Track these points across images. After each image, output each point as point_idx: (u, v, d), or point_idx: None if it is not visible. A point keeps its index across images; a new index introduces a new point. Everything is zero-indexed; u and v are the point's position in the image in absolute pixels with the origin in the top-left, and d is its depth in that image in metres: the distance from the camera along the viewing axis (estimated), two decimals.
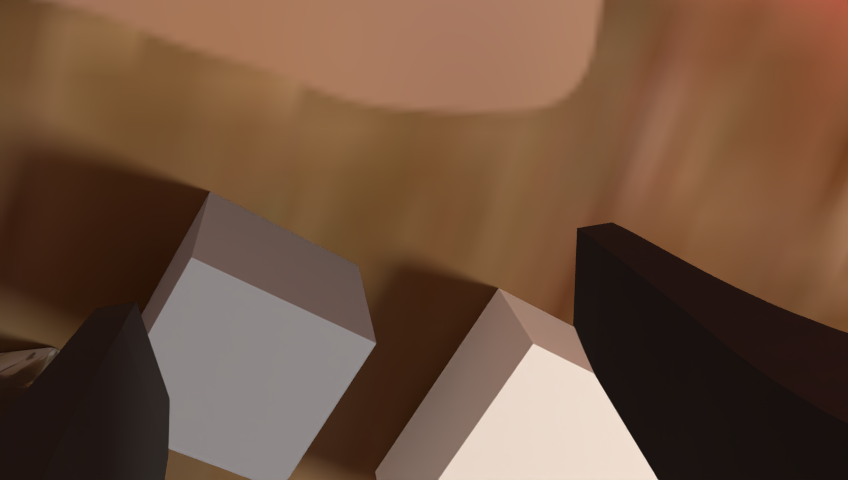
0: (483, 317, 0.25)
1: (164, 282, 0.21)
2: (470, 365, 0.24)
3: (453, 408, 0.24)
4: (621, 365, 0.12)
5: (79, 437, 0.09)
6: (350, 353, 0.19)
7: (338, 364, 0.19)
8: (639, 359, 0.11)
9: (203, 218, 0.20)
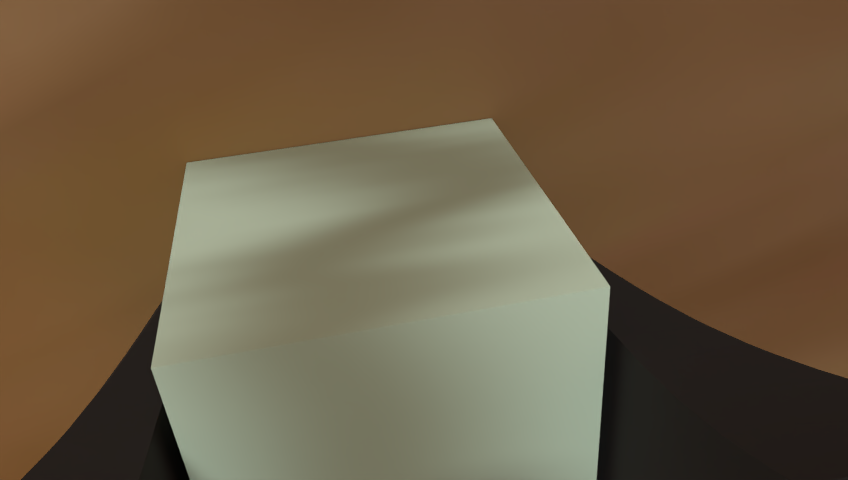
0: None
1: None
2: None
3: None
4: None
5: None
6: None
7: None
8: None
9: None
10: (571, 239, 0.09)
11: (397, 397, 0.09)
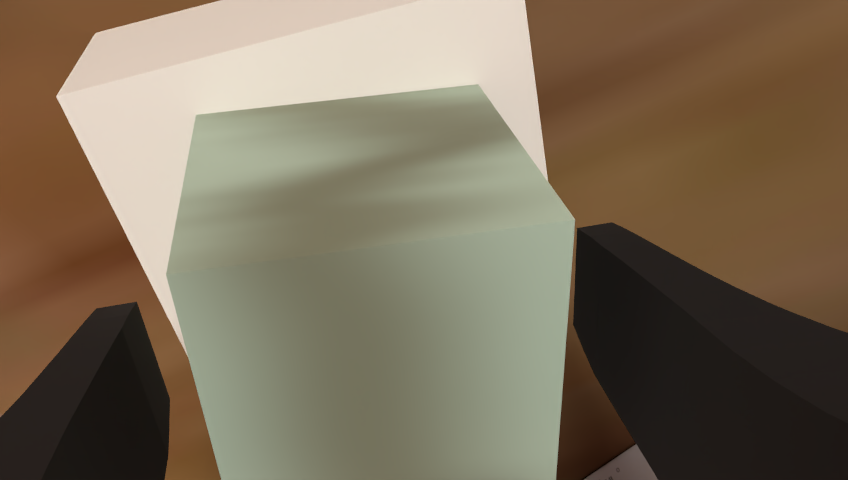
0: None
1: None
2: None
3: None
4: (621, 365, 0.12)
5: (79, 437, 0.09)
6: None
7: None
8: (639, 359, 0.11)
9: None
10: (543, 182, 0.10)
11: (383, 314, 0.10)
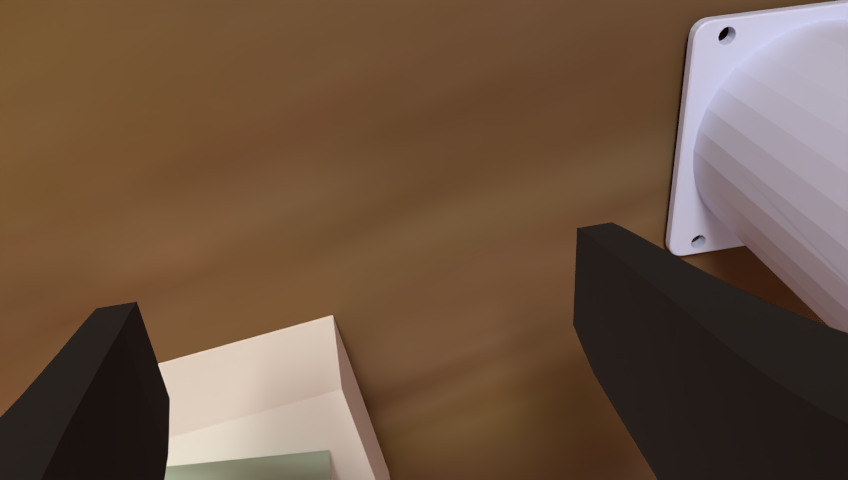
0: None
1: None
2: None
3: None
4: (621, 365, 0.12)
5: (79, 437, 0.09)
6: None
7: None
8: (639, 359, 0.11)
9: None
10: None
11: None
